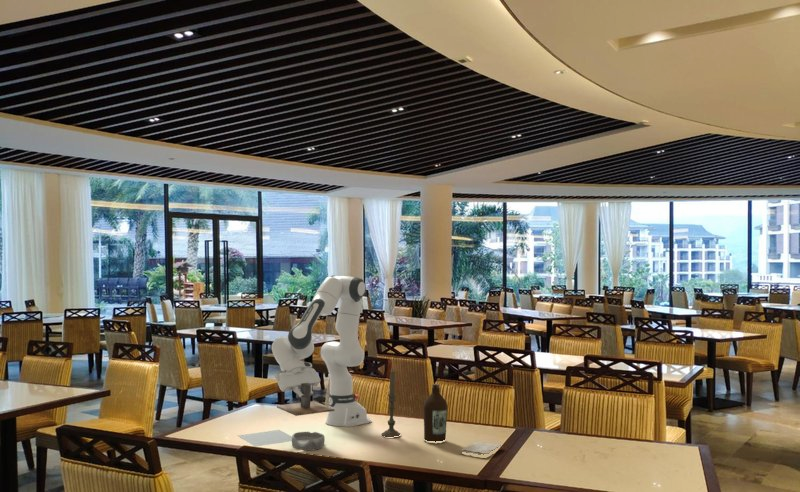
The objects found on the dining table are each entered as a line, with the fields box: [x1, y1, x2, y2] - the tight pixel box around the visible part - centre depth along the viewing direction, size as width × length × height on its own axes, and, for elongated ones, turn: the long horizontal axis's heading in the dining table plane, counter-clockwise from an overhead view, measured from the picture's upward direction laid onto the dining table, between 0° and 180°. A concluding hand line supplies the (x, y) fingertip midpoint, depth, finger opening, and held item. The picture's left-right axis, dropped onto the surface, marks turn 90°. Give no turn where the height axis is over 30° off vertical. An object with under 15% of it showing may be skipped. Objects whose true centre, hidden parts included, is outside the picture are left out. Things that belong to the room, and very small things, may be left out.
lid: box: [276, 383, 334, 417], centre depth 281 cm, size 18×18×11 cm
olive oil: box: [423, 383, 448, 442], centre depth 291 cm, size 11×11×25 cm
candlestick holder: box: [380, 369, 401, 438], centre depth 300 cm, size 9×9×30 cm
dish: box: [291, 431, 326, 451], centre depth 279 cm, size 14×14×5 cm
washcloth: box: [460, 441, 502, 455], centre depth 276 cm, size 12×18×3 cm, turn 150°
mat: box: [237, 429, 292, 447], centre depth 289 cm, size 20×20×1 cm
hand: (306, 395), depth 280 cm, fingers closed on lid, 4 cm apart
